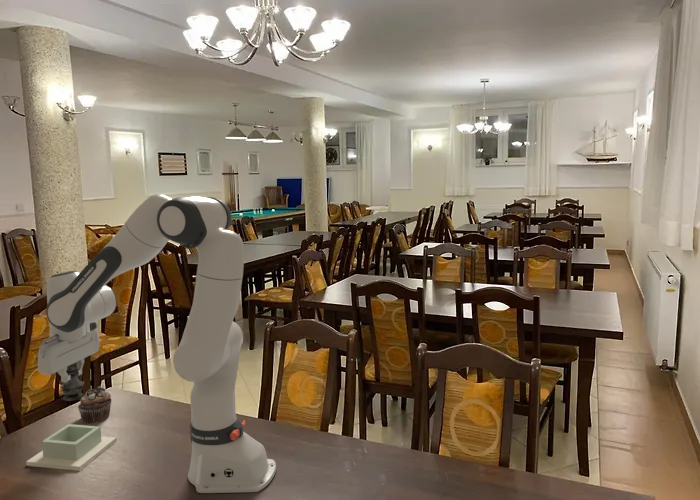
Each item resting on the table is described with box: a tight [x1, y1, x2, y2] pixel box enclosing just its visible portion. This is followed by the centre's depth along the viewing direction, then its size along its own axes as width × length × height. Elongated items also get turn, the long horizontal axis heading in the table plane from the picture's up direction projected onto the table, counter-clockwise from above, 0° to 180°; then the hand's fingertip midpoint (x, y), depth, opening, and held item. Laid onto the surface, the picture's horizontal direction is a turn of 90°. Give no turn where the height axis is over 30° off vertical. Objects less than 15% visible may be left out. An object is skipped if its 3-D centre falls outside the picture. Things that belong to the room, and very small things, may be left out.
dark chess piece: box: [60, 363, 85, 402], centre depth 148 cm, size 6×6×12 cm
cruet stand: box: [25, 423, 117, 472], centre depth 149 cm, size 16×16×6 cm
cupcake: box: [77, 385, 113, 425], centre depth 171 cm, size 10×10×10 cm
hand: (72, 378), depth 148 cm, fingers closed on dark chess piece, 3 cm apart
